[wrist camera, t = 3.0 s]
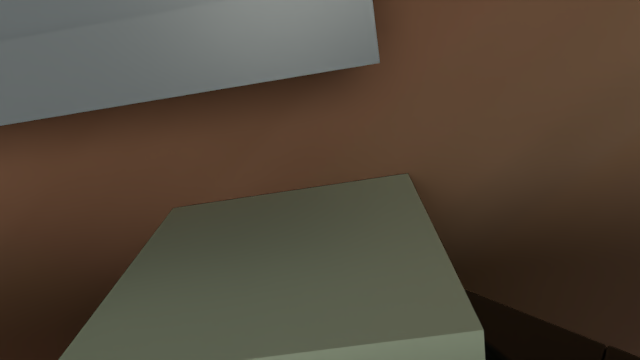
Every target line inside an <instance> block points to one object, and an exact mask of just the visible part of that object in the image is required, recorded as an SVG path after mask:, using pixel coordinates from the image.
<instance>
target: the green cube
mask: <svg viewBox="0 0 640 360" xmlns="http://www.w3.org/2000/svg"><path fill="white" fill-rule="evenodd" d="M59 360H485V344H484V329H483V327H482V325H481V323H480V321H479V319H478V317H477V315H476V313H475V311H474V309H473V307H472V305H471V303H470V301H469V298H468V296H467V294H466V292H465V290H464V288H463V286H462V284H461V282H460V280H459V278H458V276H457V274H456V272H455V270H454V268H453V265H452V263H451V261H450V259H449V257H448V255H447V253H446V251H445V249H444V247H443V245H442V243H441V241H440V239H439V237H438V235H437V232H436V230H435V228H434V226H433V224H432V222H431V220H430V218H429V216H428V214H427V212H426V210H425V208H424V206H423V204H422V202H421V199H420V197H419V195H418V193H417V191H416V189H415V187H414V185H413V183H412V181H411V179H410V177H409V175H408V173H407V174H400V175H394V176H387V177H380V178H373V179H367V180H360V181H353V182H346V183H340V184H333V185H326V186H319V187H313V188H306V189H299V190H292V191H286V192H279V193H272V194H265V195H259V196H252V197H245V198H238V199H232V200H225V201H218V202H211V203H205V204H198V205H191V206H184V207H178V208H173V209H172V210H171V212H170V213H169V214H168V216H167V217H166V218H165V220H164V221H163V222H162V224H161V225H160V226H159V227H158V229H157V230H156V231H155V233H154V234H153V235H152V237H151V238H150V239H149V241H148V242H147V243H146V245H145V246H144V247H143V249H142V250H141V251H140V253H139V254H138V255H137V257H136V258H135V259H134V261H133V262H132V263H131V264H130V266H129V267H128V268H127V270H126V271H125V272H124V274H123V275H122V276H121V278H120V279H119V280H118V282H117V283H116V284H115V286H114V287H113V288H112V290H111V291H110V292H109V294H108V295H107V296H106V298H105V299H104V300H103V301H102V303H101V304H100V305H99V307H98V308H97V309H96V311H95V312H94V313H93V315H92V316H91V317H90V319H89V320H88V321H87V323H86V324H85V325H84V327H83V328H82V329H81V331H80V332H79V333H78V335H77V336H76V337H75V338H74V340H73V341H72V342H71V344H70V345H69V346H68V348H67V349H66V350H65V352H64V353H63V354H62V356H61V357H60V358H59Z"/></svg>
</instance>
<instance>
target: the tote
mask: <svg viewBox="0 0 640 360" xmlns="http://www.w3.org/2000/svg"><path fill="white" fill-rule="evenodd" d="M376 63H380V60H379V51H378V43H377V34H376V26H375V17H374V9H373V1H372V0H0V126H2V125H8V124H14V123H20V122H26V121H32V120H38V119H44V118H50V117H56V116H62V115H68V114H74V113H80V112H86V111H93V110H99V109H105V108H111V107H117V106H123V105H129V104H135V103H141V102H147V101H153V100H159V99H165V98H171V97H177V96H183V95H189V94H195V93H201V92H207V91H213V90H219V89H225V88H231V87H237V86H243V85H249V84H255V83H261V82H267V81H274V80H280V79H286V78H292V77H298V76H304V75H310V74H316V73H322V72H328V71H334V70H340V69H346V68H352V67H358V66H364V65H370V64H376Z"/></svg>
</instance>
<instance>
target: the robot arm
mask: <svg viewBox="0 0 640 360" xmlns="http://www.w3.org/2000/svg"><path fill="white" fill-rule="evenodd" d="M464 290H465V289H464ZM465 292H466V294H467V296H468V298H469V301H470V303H471V305H472V307H473V309H474V311H475V313H476V315H477V317H478V319H479V321H480V323H481V325H482V327H483V329H484V344H485V360H640V357H637V356H635V355H632V354H630V353H627V352H624V351H622V350H619V349H617V348H614V347H612V346H608V347H606V346H605V345H604V344H602V343H599V342H597V341H594V340H592V339H589V338H587V337H584V336H581V335H579V334H576V333H574V332H571V331H569V330H566V329H564V328H561V327H559V326H556V325H554V324H551V323H548V322H546V321H543V320H541V319H538V318H536V317H533V316H531V315H528V314H526V313H523V312H520V311H518V310H515V309H513V308H510V307H508V306H505V305H503V304H500V303H498V302H495V301H493V300H490V299H487V298H485V297H482V296H480V295H477V294H475V293H472V292H470V291H467V290H465Z"/></svg>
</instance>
